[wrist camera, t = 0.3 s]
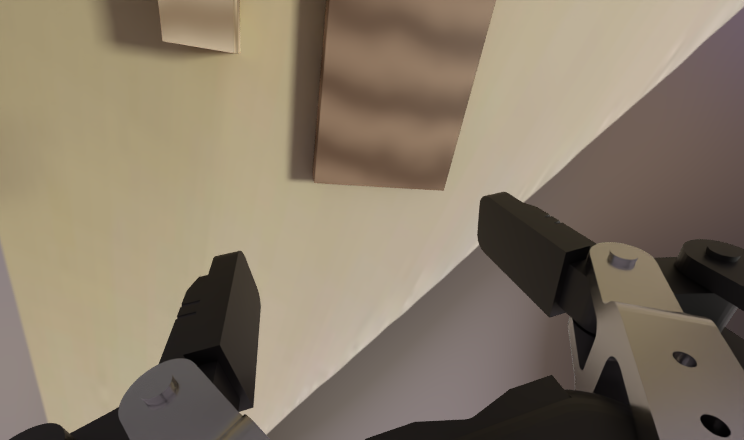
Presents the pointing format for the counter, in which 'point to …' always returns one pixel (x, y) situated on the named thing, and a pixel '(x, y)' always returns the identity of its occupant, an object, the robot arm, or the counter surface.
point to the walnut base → (395, 89)
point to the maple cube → (202, 23)
